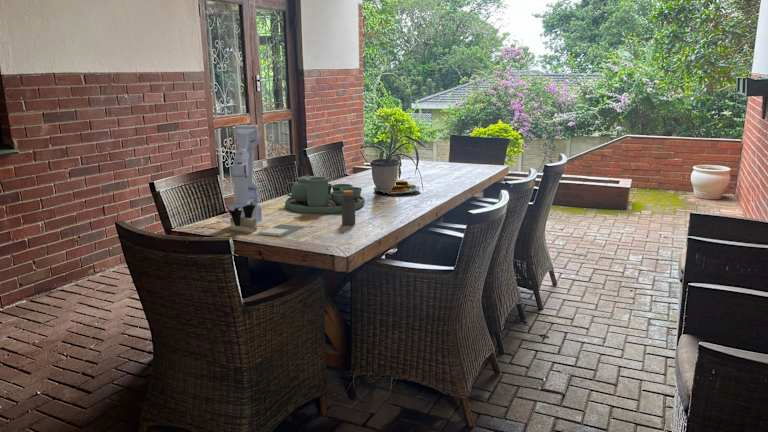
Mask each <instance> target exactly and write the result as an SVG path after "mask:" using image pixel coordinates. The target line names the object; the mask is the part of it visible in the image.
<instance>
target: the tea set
mask: <svg viewBox="0 0 768 432" xmlns="http://www.w3.org/2000/svg"><path fill="white" fill-rule="evenodd" d="M329 179H330V177H327V176H323V175H322V176H320V175H319V176H314V175H310V174H306V175H303V176H300V177H298V179H297V180H298V181H295V182H294V181H289V182H287V183H286V184H285V186H284V192H285V194H286V196H288V197H287V198H286V200H285V203H284V204H285V207H286V209H289V210H290V211H293V212H297V213H304V214H321V215H322V214H327V215H328V214H340V213H342V200H344V198H343V197H342V195H343V191H344V190H352V191H353V195H354V197H353V200H354V201H355V210H359V209H360V208H361V207H363V206H364V204H365V203H366V201H365V198H364V197H363V196H362V195H361V194H362V191H363V188H361V187H358V186H353V184H349V183H336V184H331V183H329ZM289 185H291V188H290V193H289V192H288V190H287V188H288V186H289Z"/></svg>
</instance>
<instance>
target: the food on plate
mask: <svg viewBox="0 0 768 432" xmlns="http://www.w3.org/2000/svg"><path fill="white" fill-rule="evenodd" d="M396 180H397V182H396V185H395V186H393V188H392V191H390V192H391V193H388V192H387V193H388V194H387V195H392V196H393V195H394V196H395V195H402V194H410V193H411V194H412V193H414V192H416V191H419V190H420V189H421V186H419V185H415V184H412V183H411V184H410V183H408V180H403V179H396ZM382 194H385V193H384V192H383V193H382Z"/></svg>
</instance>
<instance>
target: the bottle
mask: <svg viewBox="0 0 768 432" xmlns="http://www.w3.org/2000/svg"><path fill="white" fill-rule="evenodd" d="M342 197H343V198H344V200H342V212H341V223H342V226H347V227H351V226H355V225H356V209H355V201H354V200H353V197H354V195H353V191H352V190H344V191H343V195H342Z"/></svg>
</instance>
